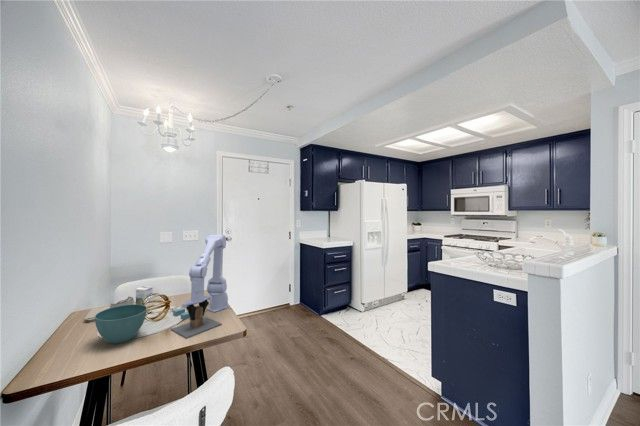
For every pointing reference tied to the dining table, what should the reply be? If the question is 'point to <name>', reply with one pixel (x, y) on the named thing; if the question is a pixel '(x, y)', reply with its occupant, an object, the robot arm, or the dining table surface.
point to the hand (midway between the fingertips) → (197, 318)
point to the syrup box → (143, 294)
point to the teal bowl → (120, 322)
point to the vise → (180, 313)
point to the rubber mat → (190, 331)
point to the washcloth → (93, 312)
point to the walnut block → (197, 318)
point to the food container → (123, 302)
